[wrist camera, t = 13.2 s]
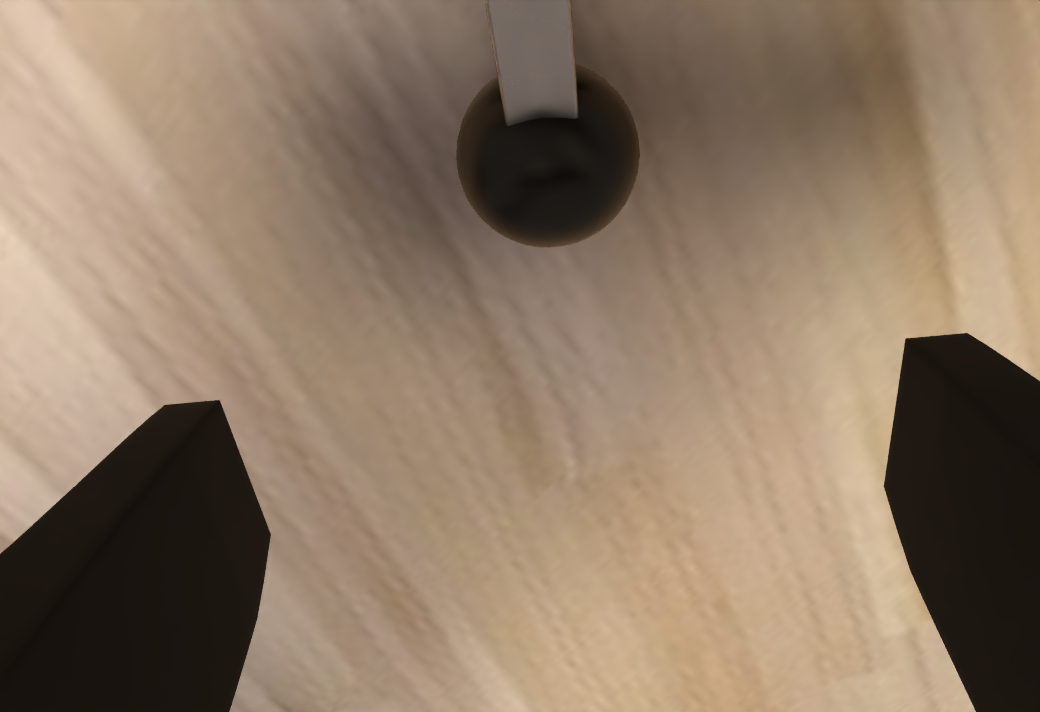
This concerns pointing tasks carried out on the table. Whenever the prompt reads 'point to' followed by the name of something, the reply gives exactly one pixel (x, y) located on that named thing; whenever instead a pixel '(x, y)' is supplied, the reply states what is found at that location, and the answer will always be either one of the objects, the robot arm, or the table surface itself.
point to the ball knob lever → (544, 133)
